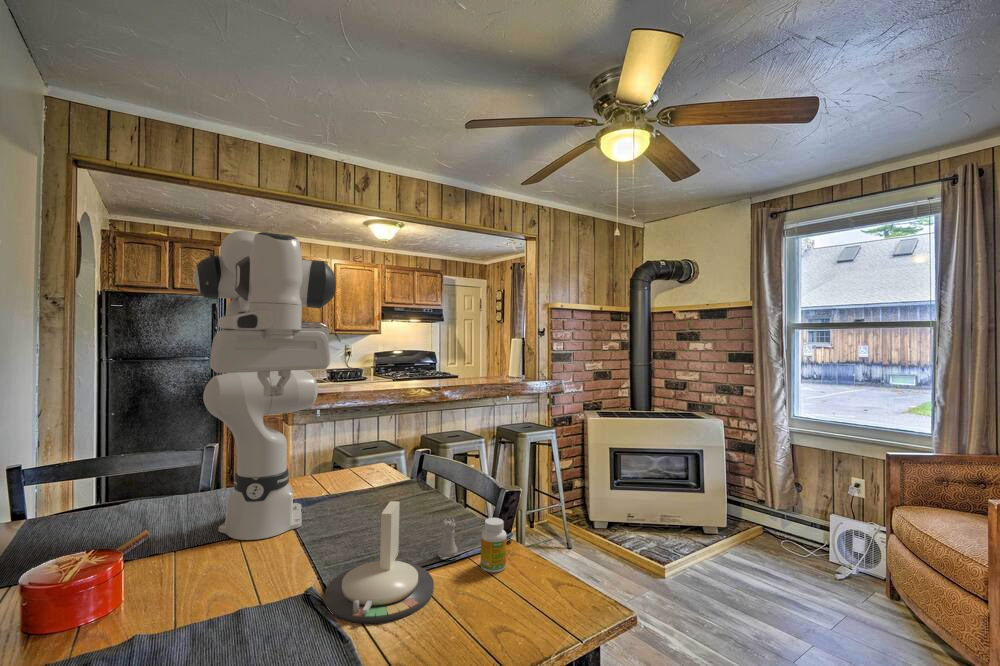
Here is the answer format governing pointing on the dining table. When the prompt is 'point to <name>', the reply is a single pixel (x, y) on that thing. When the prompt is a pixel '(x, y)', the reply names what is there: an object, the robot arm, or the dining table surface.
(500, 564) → the supplement bottle
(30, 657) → the dining table surface
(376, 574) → the peg dial
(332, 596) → the base
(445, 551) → the rook chess piece
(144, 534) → the chocolate bar
